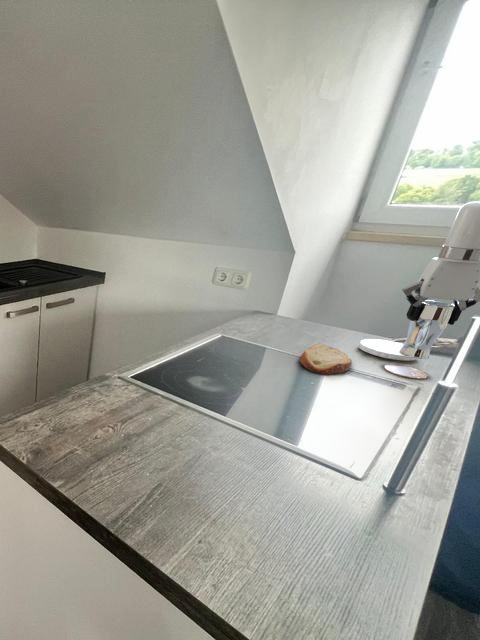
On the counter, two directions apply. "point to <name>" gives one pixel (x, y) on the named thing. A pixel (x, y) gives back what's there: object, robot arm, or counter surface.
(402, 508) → the counter surface
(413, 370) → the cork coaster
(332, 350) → the bread slice
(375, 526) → the counter surface
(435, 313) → the beer glass
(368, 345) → the plastic lid
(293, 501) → the counter surface
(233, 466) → the counter surface
